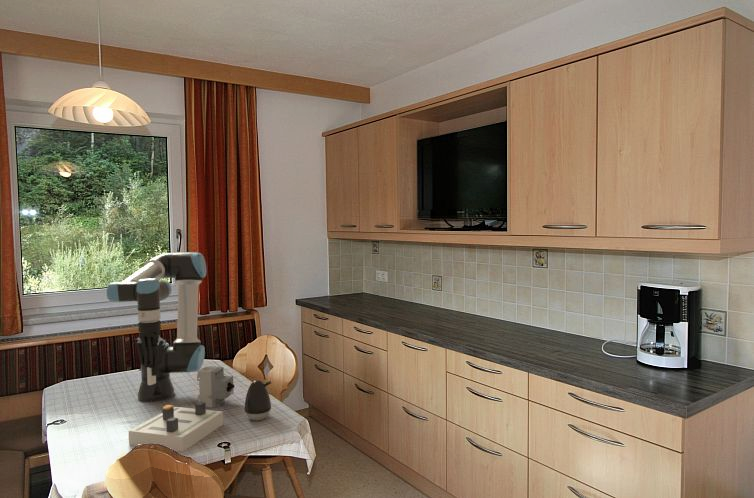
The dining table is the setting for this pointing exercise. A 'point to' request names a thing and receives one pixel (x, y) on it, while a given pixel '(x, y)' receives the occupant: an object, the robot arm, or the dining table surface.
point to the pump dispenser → (257, 401)
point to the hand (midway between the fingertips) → (151, 383)
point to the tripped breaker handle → (168, 412)
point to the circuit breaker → (214, 386)
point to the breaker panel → (178, 428)
